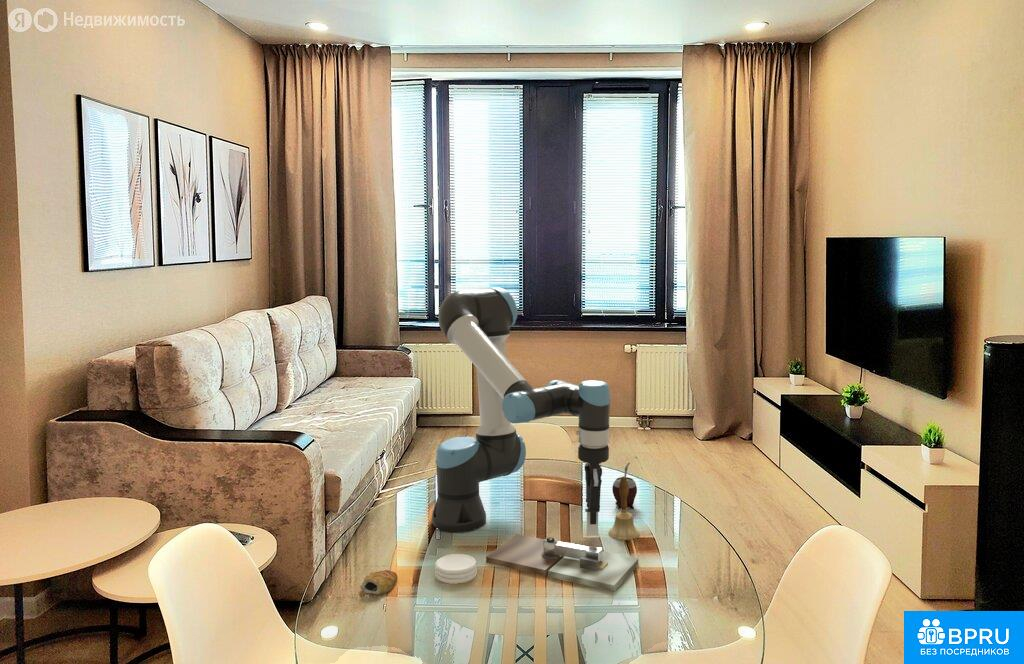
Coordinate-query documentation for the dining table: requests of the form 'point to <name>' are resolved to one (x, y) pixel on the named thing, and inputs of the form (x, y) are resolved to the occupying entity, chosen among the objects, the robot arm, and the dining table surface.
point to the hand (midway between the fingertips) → (592, 534)
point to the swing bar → (571, 550)
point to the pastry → (379, 582)
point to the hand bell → (623, 517)
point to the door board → (563, 563)
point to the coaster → (455, 568)
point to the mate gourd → (631, 492)
